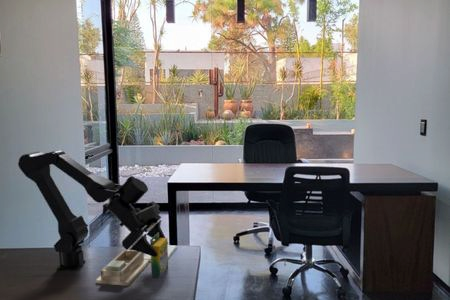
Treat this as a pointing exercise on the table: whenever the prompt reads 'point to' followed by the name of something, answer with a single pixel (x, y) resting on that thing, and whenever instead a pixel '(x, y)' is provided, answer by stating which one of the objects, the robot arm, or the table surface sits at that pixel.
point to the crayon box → (159, 256)
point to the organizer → (123, 268)
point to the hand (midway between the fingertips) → (162, 250)
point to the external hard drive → (170, 251)
